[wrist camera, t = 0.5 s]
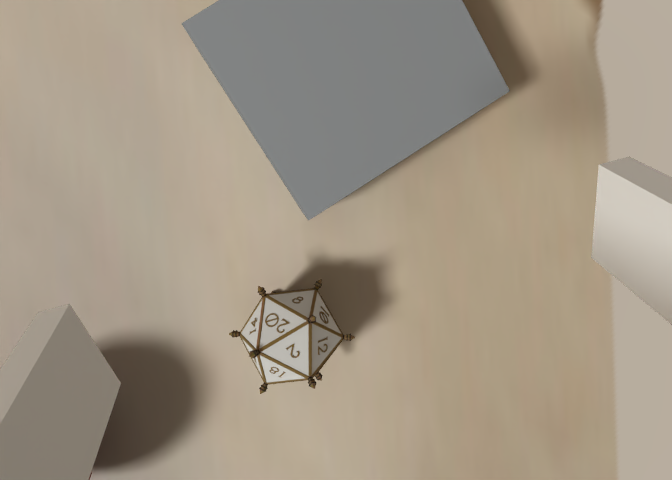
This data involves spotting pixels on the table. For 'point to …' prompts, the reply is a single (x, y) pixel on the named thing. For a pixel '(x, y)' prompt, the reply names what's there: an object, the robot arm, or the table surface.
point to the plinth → (345, 82)
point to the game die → (291, 336)
